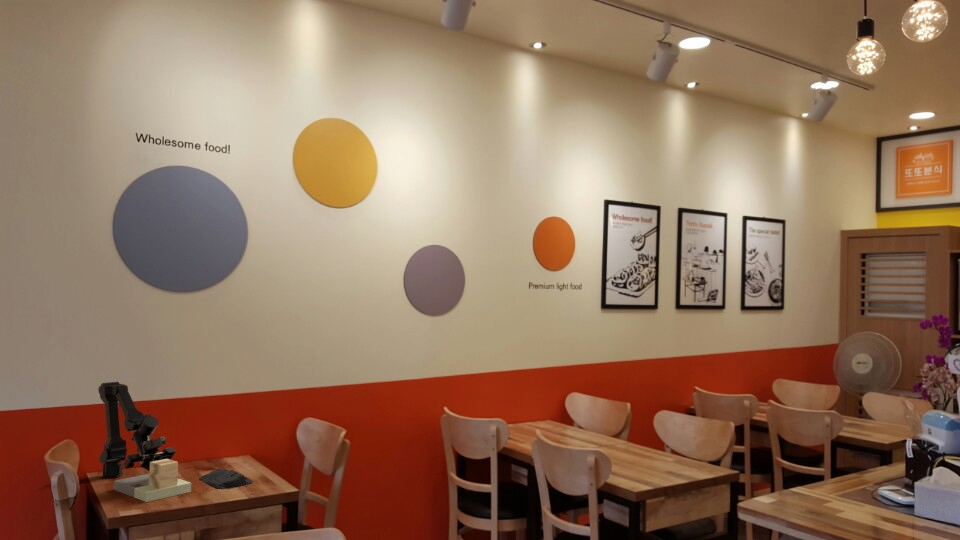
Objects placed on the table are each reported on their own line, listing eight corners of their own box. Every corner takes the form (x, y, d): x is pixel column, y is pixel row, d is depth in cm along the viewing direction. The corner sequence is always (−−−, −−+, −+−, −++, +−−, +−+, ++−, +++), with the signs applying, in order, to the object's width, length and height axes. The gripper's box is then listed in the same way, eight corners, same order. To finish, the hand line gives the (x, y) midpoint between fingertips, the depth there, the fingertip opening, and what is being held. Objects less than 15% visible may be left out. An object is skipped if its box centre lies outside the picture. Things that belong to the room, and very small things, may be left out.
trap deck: (113, 489, 280) (114, 480, 280) (157, 480, 295) (157, 471, 295) (146, 502, 265) (146, 492, 265) (191, 491, 280) (191, 482, 280)
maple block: (149, 485, 275) (149, 461, 275) (166, 481, 281) (167, 458, 281) (160, 489, 270) (160, 465, 270) (177, 485, 276) (178, 462, 276)
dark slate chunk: (231, 474, 309) (231, 462, 309) (255, 484, 293) (255, 473, 293) (196, 480, 298) (196, 468, 298) (219, 491, 282) (219, 479, 282)
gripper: (128, 434, 274) (142, 467, 267) (174, 427, 289) (188, 458, 282) (117, 451, 279) (131, 484, 272) (163, 443, 294) (176, 475, 287)
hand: (157, 475), depth 278 cm, fingers closed, pressing on maple block
